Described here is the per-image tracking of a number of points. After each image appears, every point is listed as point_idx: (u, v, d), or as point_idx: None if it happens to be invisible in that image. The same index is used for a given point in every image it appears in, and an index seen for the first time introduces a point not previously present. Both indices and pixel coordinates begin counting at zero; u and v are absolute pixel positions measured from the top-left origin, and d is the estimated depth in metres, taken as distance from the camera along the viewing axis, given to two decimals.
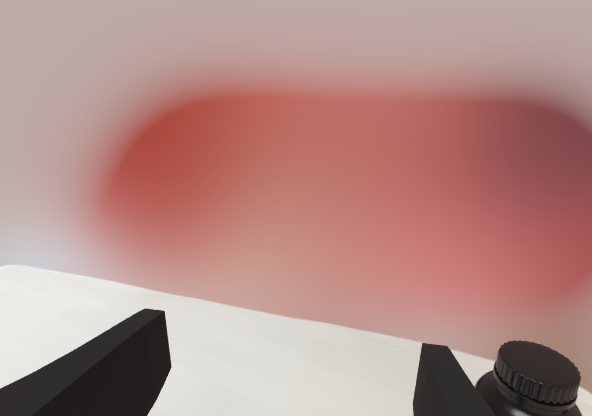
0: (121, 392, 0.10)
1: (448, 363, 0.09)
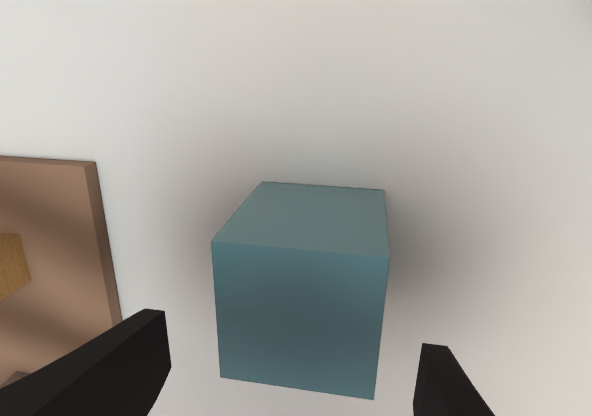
0: (121, 392, 0.10)
1: (448, 363, 0.09)
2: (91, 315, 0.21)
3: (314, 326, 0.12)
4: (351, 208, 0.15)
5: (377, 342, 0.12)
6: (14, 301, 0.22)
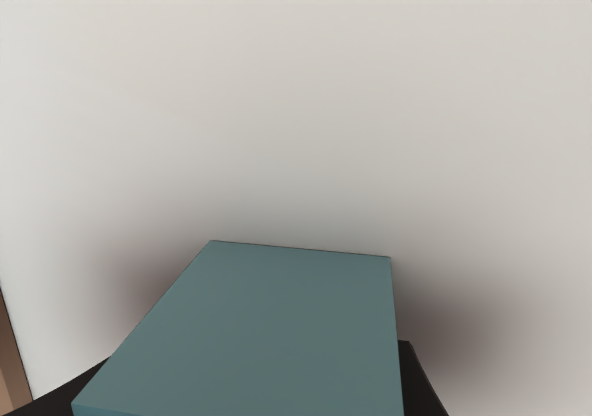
0: None
1: (406, 357, 0.09)
2: None
3: None
4: (339, 302, 0.09)
5: None
6: None
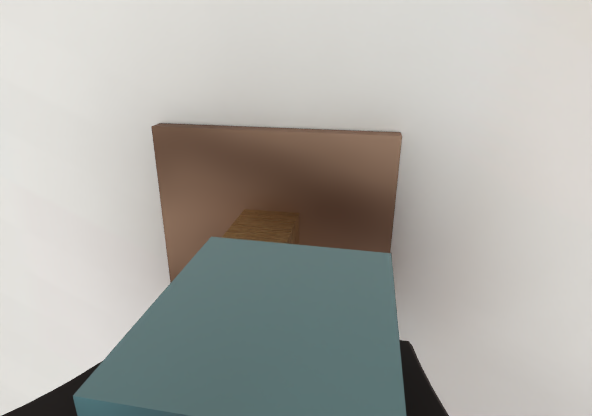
0: None
1: (406, 357, 0.09)
2: None
3: None
4: (340, 297, 0.09)
5: None
6: None
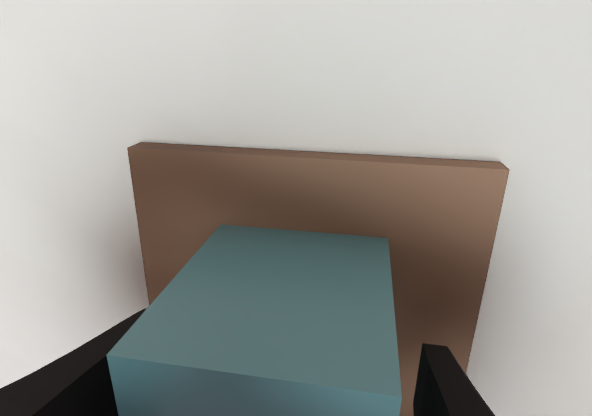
0: None
1: (448, 363, 0.09)
2: None
3: None
4: (341, 275, 0.10)
5: None
6: None
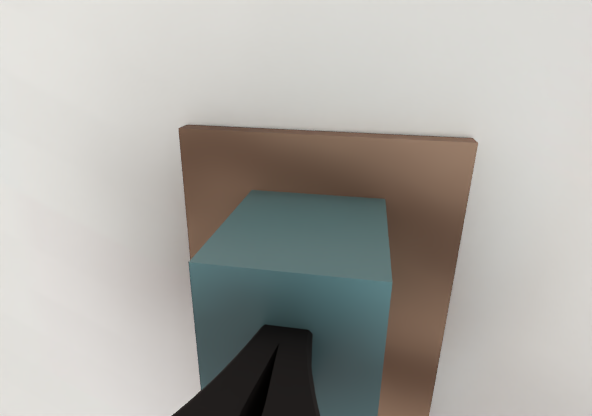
0: None
1: (297, 343, 0.10)
2: (416, 330, 0.17)
3: None
4: (349, 221, 0.13)
5: (378, 376, 0.11)
6: None
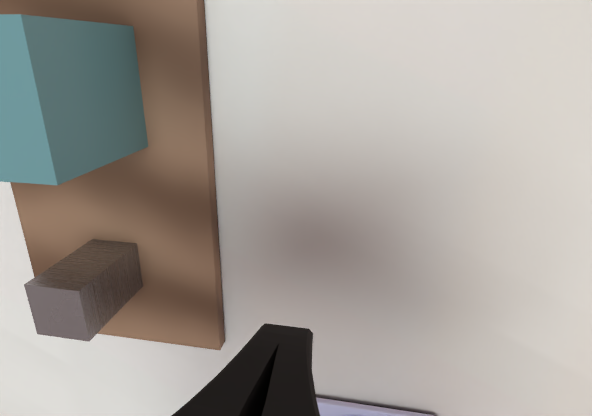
0: None
1: (297, 343, 0.10)
2: (185, 160, 0.19)
3: None
4: None
5: (41, 116, 0.13)
6: None
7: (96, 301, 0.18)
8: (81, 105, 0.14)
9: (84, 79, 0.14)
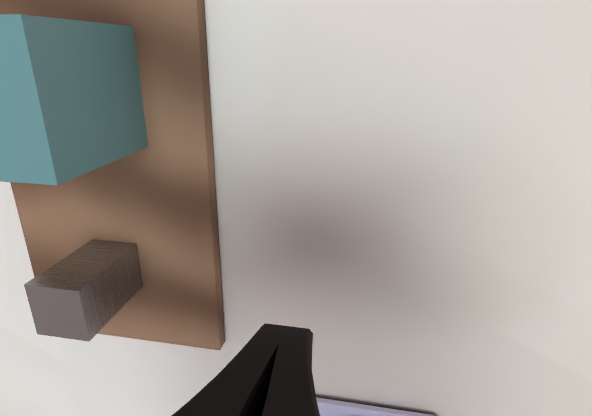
0: None
1: (297, 343, 0.10)
2: (185, 160, 0.19)
3: None
4: None
5: (41, 116, 0.13)
6: None
7: (96, 301, 0.18)
8: (81, 105, 0.14)
9: (84, 79, 0.14)
